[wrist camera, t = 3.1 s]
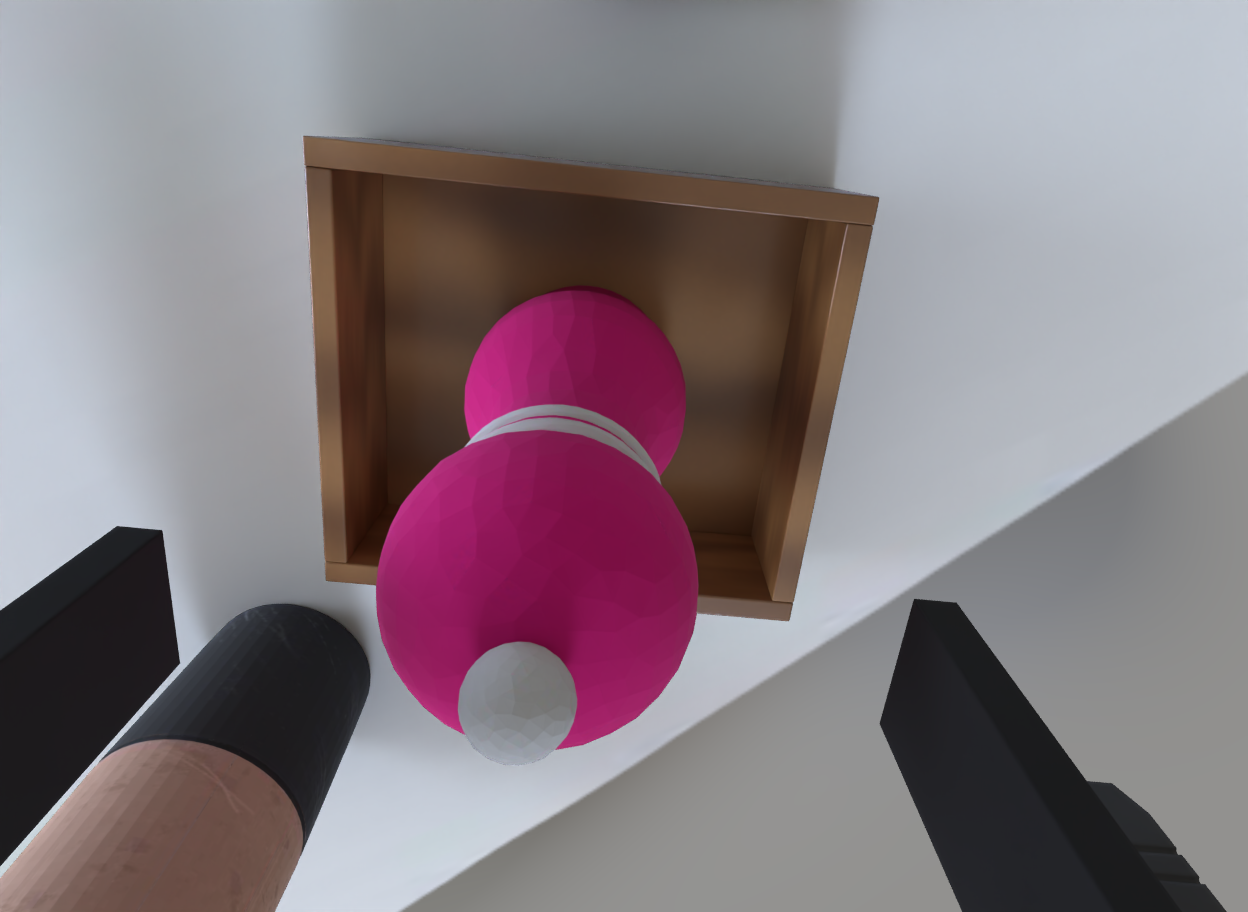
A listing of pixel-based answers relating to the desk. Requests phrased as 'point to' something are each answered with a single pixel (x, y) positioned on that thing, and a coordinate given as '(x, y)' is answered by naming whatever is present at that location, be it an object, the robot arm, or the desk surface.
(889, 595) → the desk surface
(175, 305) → the desk surface
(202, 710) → the travel mug
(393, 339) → the wooden box
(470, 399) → the pepper mill
